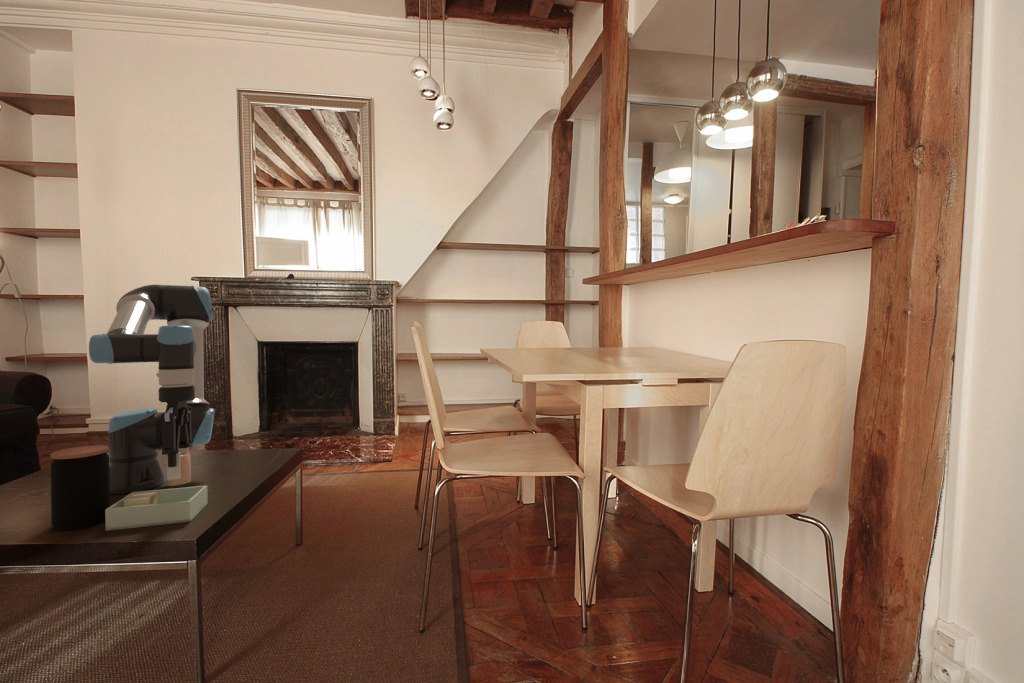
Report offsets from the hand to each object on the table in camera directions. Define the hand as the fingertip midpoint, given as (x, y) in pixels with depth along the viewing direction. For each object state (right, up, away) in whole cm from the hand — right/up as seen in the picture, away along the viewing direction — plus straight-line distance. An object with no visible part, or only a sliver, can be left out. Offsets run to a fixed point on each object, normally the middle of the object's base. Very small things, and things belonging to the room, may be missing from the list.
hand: (178, 475), depth 119 cm
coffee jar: (-20, -10, -5) cm, 23 cm away
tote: (-4, -10, -1) cm, 11 cm away
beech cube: (-8, -9, -2) cm, 12 cm away
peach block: (0, -2, 0) cm, 2 cm away
